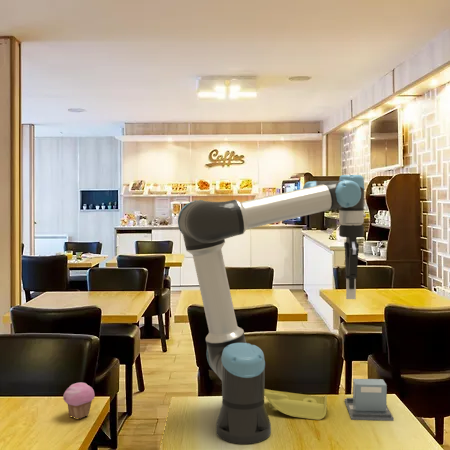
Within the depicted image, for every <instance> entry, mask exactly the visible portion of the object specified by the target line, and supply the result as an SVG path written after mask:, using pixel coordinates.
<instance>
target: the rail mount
mask: <svg viewBox="0 0 450 450" xmlns="http://www.w3.org/2000/svg"><path fill="white" fill-rule="evenodd" d="M344 403H345V406H346V408H347V411H348V414H349V417H350V419H351V420H352V421H353V420H354V421H355V420H357V421H383V422H384V421H389V422H394V418H395V417H394V416H393V414H392V413H391V410H390V409H389V407H388V405H387V404H386V411H356V410H355V408H354V405H353V397H346V398H344Z"/></svg>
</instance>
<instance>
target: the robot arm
mask: <svg viewBox="0 0 450 450" xmlns="http://www.w3.org/2000/svg"><path fill="white" fill-rule="evenodd" d="M336 209H339V210H338V212H339V213H338V222H339V224H340V225H339V226H338V227H339V228H338V229H339V230H338V231H339V232H338V235H339V237H341V238H346V239H345V242H344V243H343V245H344V246H343V248H344V259H345V260H344V261H345V262H344V263H345V264H344V265H345V266H344V267H345V272H344V274H345V277H344V278H345V280H346V282H345V283H346V284H345V285H346V287H345V288H346V290H345V291H346V292H345V296H346V300H356V298H357V297H356V296H357V295H356V291H357V286H356V284H357V283H356V282H357V280H356V278H358V266H359V265H358V263H359V252H360V249H359V247H360V246H359V245H360V244H359V242H357V240H358V239H357V238H363V237H364V236H365V234H364V233H365V226H364V225H363V223H364V221H365V219H364V218H365V217H366V216H367V214H366V213H365V178H364V176H363V175H361V174H342V175H340V176H339V179H338V180H326V181H325V180H323V181H322V180H321V181H320V180H318V181H317V180H313V181H307V182H305V183H304V185H303V188H300V189H295V190H291V191H287V192H286V191H285V192H282V193H277V194H273V195H268V196H263V197H258V198H255V199H249V200H246V201H239V200H237V199H232V200H227V201H212V200H211V201H209V200H201V199H199V200H193V201H190V202H189V203H187V204H185V205H184V206H183V207H182V208H181V210H180V211H179V213H178V216H177V227H178V229H179V231H180V233H181V234H182V237H183V242H184V246H185V251H186V252H188V253H189V254H191V255H192V259H193V263H194V268H195V271H196V272H195V273H196V276H197V282H198V286H199V292H200V295H201V300H202V304H203V309H204V313H205V319H206V324H207V328H208V334H207V335H206V336H205V343H206V359H207V363H208V365H209V367H210V369H211V370H212V371H213V372H214V373H215V374H216V376H217V377H218V378H219V379H220V380H221V384H222V385H221V390H222V391H221V397H222V401H221V402H222V403H221V407H220V411H219V413H218V417H217V420H216V425H215V426H216V427H215V430H216V431H215V432H216V435H217V437H218V438H219V439H221V440H224V441H225V442H228V443H233V444H240V445H249V444H251V445H252V444H256V443H259V442H263V441H264V440H267V439H268V438H269V437H270V436H271V434H272V433H271V432H272V425H271V421H270V418H269V417H270V416H269V415H268V411H267V408H266V404H265V395H264V389H265V378H266V377H265V375H266V374H265V368H266V361H265V354H264V351H263V350H262V349H261V348H260V347H259V346H258V345H255V344H251V343H249V342H247V341H246V337H245V331H244V329H243V328H242V327H239V326H238V322H237V318H236V314H235V309H234V304H233V299H232V295H231V289H230V284H229V280H228V275H227V270H226V265H225V260H224V255H223V251H222V248H223V246H224V245H225V244H226V241H225V240H227V239H229V238H233V237H236V236H240V235H244V234H245V232H247V231H246V230H250V229H254V228H258V227H262V226H266V225H270V224H271V225H272V224H275V223H279V222H285V221H288V220H293V219H296V218H302V217H305V216H309V215H313V214H317V213H322V212H325V211H331V210H336Z"/></svg>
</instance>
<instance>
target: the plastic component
mask: <svg viewBox="0 0 450 450" xmlns="http://www.w3.org/2000/svg"><path fill="white" fill-rule="evenodd" d="M264 398H265V399H266V400H267V402H268V403H269V406H268V408H269V409H275V410H278V412H280V413H281V414H285V415H287V416H290V417H294V418H302V419H309V420H317V421H318V420H319V421H320V420H322V419H324V418H325V416H326V415H327V405H328V395H327V394H325V395H323V396H320V395H311V394H303V393H295V392H288V391H280V390H273V389H272V390H271V389H267V388H264Z"/></svg>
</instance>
